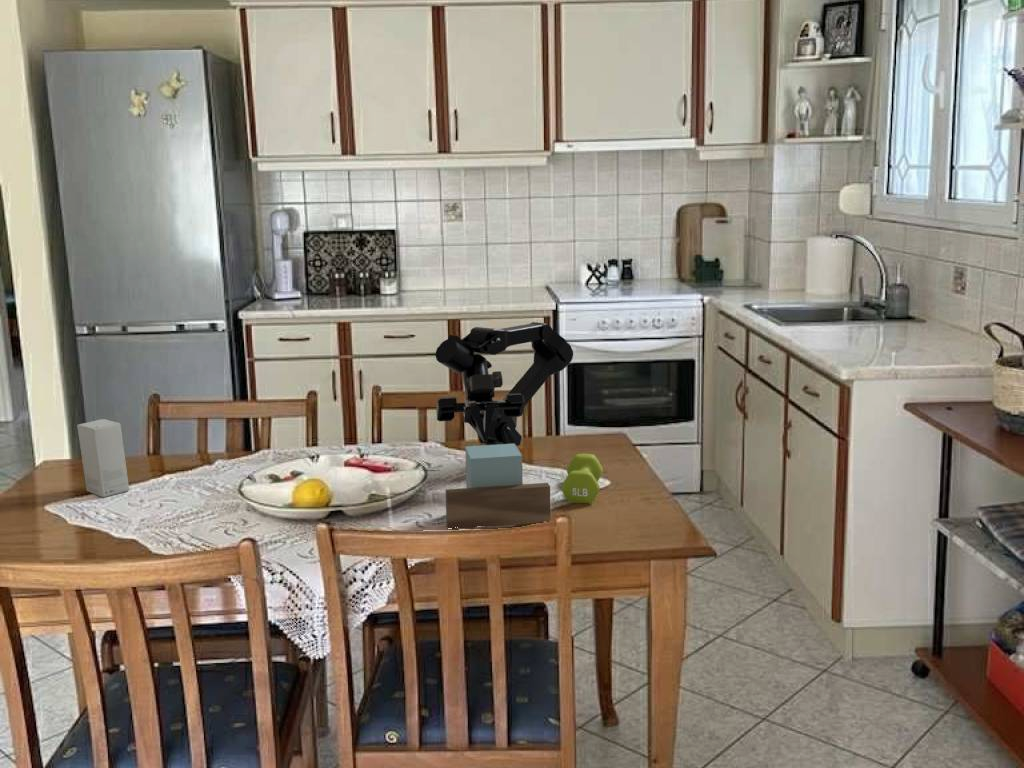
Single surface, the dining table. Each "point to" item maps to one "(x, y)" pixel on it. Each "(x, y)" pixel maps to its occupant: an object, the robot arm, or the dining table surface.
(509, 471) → the block
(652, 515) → the dining table surface
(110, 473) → the skincare box
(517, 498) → the board
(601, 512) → the dining table surface
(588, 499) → the dumbbell
